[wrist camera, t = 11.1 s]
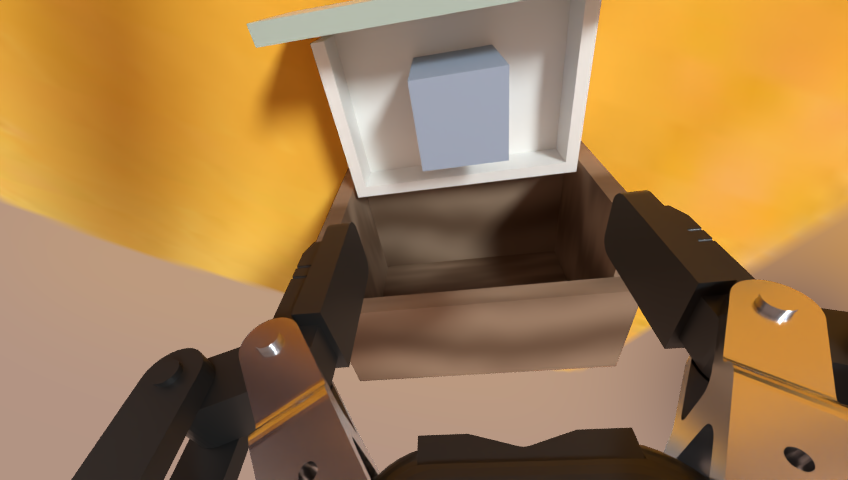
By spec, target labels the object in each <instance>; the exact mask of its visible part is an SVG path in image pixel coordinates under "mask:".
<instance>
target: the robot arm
mask: <svg viewBox="0 0 848 480" xmlns="http://www.w3.org/2000/svg"><path fill="white" fill-rule="evenodd" d="M604 245H605V250H606V253H607V256H608V257H609V259H610V261H611V262H612V264H613V266H614V267H615V269H616V270H617V272H618V274H619V275H620V277H621V279H622V280H623V282H624V283H625V285H626V287H627V288H628V290H629V292H630V293H631V295H632V296H633V298H634V300H635V301H636V303H637V305H638V306H639V308H640V309H641V311H642V313H643V314H644V316H645V318H646V319H647V321H648V323H649V324H650V326H651V327H652V329H653V331H654V332H655V334H656V335H657V337H658V339H659V340H660V342H661V344H662V345H663V347H664V348H665V349H668V348H669V349H670V348H685V349H686V350H687V351H688V353H689V354H690V356H689V358H688V360H687V362H686V365H685V370H684V375H683V381H682V386H681V391H680V396H679V401H678V407H677V412H676V417H675V422H674V427H673V430H672V433H671V436H670V438H669V440H668V443H667V445H666V448H665V450H664V453H663V452H661V451H658V450H655V449H652V448H650V447H647V446H643V445H639V443H638V441H637V438H636V436H635V434H634V432H633V429H632V428H611V429H587V430H586V429H585V430H575V431H572V432H569V433H566V434H563V435H560V436H557V437H554V438H551V439H548V440H546V441H543V442H540V443H537V444H534V445H531V446H527V447H519V446H515V445H511V444H507V443H503V442H499V441H495V440H491V439H487V438H482V437H478V436H474V435H470V434H455V435H454V434H453V435H427V436H418V451H415V452H412V453H409V454H408V455H406V456H404V457H402V458H400V459H398V460H396V461H395V462H394V463H392V464H391V465H389V466H388V467H387V468H385V470H383V471H382V472H381V473H380V472H379V471H378V469H377V467H376V465H375V463H374V461H373V459H372V457H371V456H370V454H369V452H368V450H367V448H366V446H365V445H364V443H363V441H362V439H361V437H360V435H359V433H358V431H357V429H356V427H355V425H354V423H353V421H352V419H351V417H350V415H349V413H348V411H347V409H346V407H345V405H344V403H343V401H342V399H341V397H340V395H339V393H338V391H337V389H336V387H335V385H334V383H333V382H332V379H333V375H334V371H335V368H341V367H349V365H350V360H351V355H352V351H353V346H354V341H355V337H356V332H357V327H358V323H359V318H360V313H361V309H362V304H363V299H364V295H365V290H366V285H367V281H368V274H369V268H368V261H367V257H366V254H365V251H364V248H363V245H362V242H361V240H360V237H359V234H358V231H357V228H356V226H355V224H354V223H353V222H349V223H340V224H331V225H328V227H327V229H326V231H325V233H324V236H323V238H322V241H320V242H314V243H313V244H312V245H311V246H310V247H309V248H308V249H307V250H306V251H305V252H304V253H303V255H302V257H301V259H300V261H299V264H298V266H297V267H298V268H297V269H296V270H295V272H294V274H293V279H291V281H290V283H289V285H288V287H287V290H286V292H285V294H284V296H283V298H282V301H281V303H280V305H279V307H278V309H277V311H276V313H275V315H274V318H273V319H271V320H268V321H266V322H264V323H262V324H260V325H259V326H257V327H256V328H255V329H253V330H252V331H251V332H250V333H249V334H248V335H247V336H246V338H245V339H244V341H243V342H242V344H241V346H240V347H239V348H236V349H233V350H230V351H228V352H225V353H222V354H219V355H216V356H213V357H211V358H208V359H207V358H206V357H205V356H204V355H203V354H202V353H201V352H200V351H198V350H196V349H193V348H186V349H181V350H177V351H175V352H172V353H170V354H169V355H167V356H165V357H163V358H162V359H160V360H159V361H158V362H156V363H155V364H154V365H153V366H152V367H151V368H150V369H149V370H148V371H147V372H146V373H145V374H144V375H143V377H142V378H141V379H140V381H139V382H138V384H137V385H136V387H135V388H134V389H133V391H132V392H131V394H130V395H129V397H128V398H127V400H126V401H125V403H124V404H123V405H122V407H121V408H120V410H119V411H118V413H117V414H116V416H115V417H114V419H113V420H112V422H111V423H110V424H109V426H108V427H107V429H106V430H105V432H104V433H103V435H102V436H101V437H100V439H99V440H98V442H97V443H96V445H95V447H94V448H93V449H92V451H91V452H90V453H89V455H88V456H87V458H86V459H85V461H84V462H83V464H82V465H81V467H80V468H79V469H78V471H77V472H76V474H75V476H74V477H73V478H72V480H164V478H165V476H166V474H167V472H168V470H169V468H170V466H171V464H172V462H173V460H174V458H175V456H176V454H177V452H178V450H179V448H180V446H181V444H182V442H183V440H184V438H185V436H187V437H188V438H190V439H189V442H188V443H187V445H186V447H185V450H184V452H183V454H182V456H181V458H180V460H179V462H178V464H177V466H176V468H175V470H174V472H173V474H172V476H171V478H170V480H237V479H238V476H239V473H240V471H241V468H242V465H243V462H244V460H245V457H246V454H247V451H248V448H249V451H250V456H251V460H252V465H253V469H254V474H255V478H256V480H848V312H844V311H837V310H830V309H823V308H820V307H819V306H818V305H817V304H816V303H815V302H814V301H813V300H812V299H810V298H809V297H807V296H806V295H804V294H802V293H801V292H799V291H797V290H795V289H793V288H790V287H788V286H785V285H782V284H779V283H775V282H771V281H765V280H756V279H754V278H753V277H752V276H751V275H750V274H749V273H748V272H747V271H746V270H745V269H744V268H743V267H742V266H741V265H740V264H739V263H738V262H737V261H736V260H735V259H734V258H733V257H731V256H730V255H729V254H728V253H727V252H726V251H725V250H724V249H723V248H722V247H721V246H720V245H719V244H718V243H717V242H716V241H712V237H710V236H709V235H708V234H707V233H706V232H705V231H704V230H701V227H700V226H699V225H698V224H697V223H696V222H695V221H694V220H693V219H692V218H691V217H690V216H688V215H687V214H685V213H683V212H681V211H679V210H677V209H675V208H673V207H671V206H664V205H663V204H662V203H661V202H660V201H659V200H658V199H657V198H656V197H655V196H654V195H653V194H652V193H651V192H650V191H647V190H644V191H635V192H626V193H618V194H616V195H615V197H614V199H613V202H612V207H611V211H610V215H609V219H608V223H607V228H606V232H605V236H604Z"/></svg>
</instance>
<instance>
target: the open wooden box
mask: <svg viewBox="0 0 848 480" xmlns="http://www.w3.org/2000/svg"><path fill="white" fill-rule="evenodd" d="M618 193H626V191H625V190H624V188H623V187H622V186H621V185H620V184H619V183H618V182H617V181H616V180H615V178H614V177H613V176H612V175H611V174H610V173H609V172H608V171H607V169H606V168H605V167H604V166H603V165H602V164H601V163H600V162H599V160H598V159H597V158H596V157H595V156H594V155H593V154H592V153H591V151H590V150H589V149H588V148H587V147H586V146H585V145H584V144H583V142H582V141H581V143H580V150H579V157H578V164H577V170H576V172H569V173H560V174H552V175H544V176H535V177H527V178H518V179H510V180H502V181H493V182H485V183H477V184H468V185H460V186H452V187H443V188H435V189H427V190H418V191H410V192H402V193H393V194H385V195H377V196H368V197H360V198H358V195H357V191H356V188H355V185H354V182H353V179H352V176H351V172H350V169H349V168H348V170H347V173H346V175H345V177H344V179H343V182H342V184H341V186H340V188H339V191H338V193H337V195H336V198H335V200H334V202H333V204H332V207H331V209H330V211H329V214H328V216H327V218H326V220H325V223H324V225H323V227H322V230H321V232H320V234H319V236H318V239H317V241H316V242H320V241H322V238H323V236H324V233H325V231H326V229H327V227H328V225H331V224H340V223H349V222H353V223H354V224H355V226H356V228H357V231H358V234H359V237H360V240H361V242H362V245H363V248H364V251H365V254H366V257H367V261H368V268H369V274H368V281H367V285H366V290H365V295H364V299H363V304H362V309H361V313H360V318H359V323H358V327H357V332H356V337H355V341H354V346H353V351H352V355H351V360H350V362H351V364H352V366H353V368H354V370H355V372H356V374H357V375H358V378H359V380H360V381H370V380H387V379H404V378H420V377H439V376H455V375H471V374H490V373H506V372H525V371H542V370H559V369H576V368H592V367H610V366H616V364H617V362H618V359H619V357H620V354H621V351H622V348H623V346H624V343H625V341H626V338H627V335H628V333H629V330H630V327H631V325H632V322H633V319H634V317H635V314H636V311H637V309H638V305H637V303H636V301H635V300H634V298H633V296H632V295H631V293H630V292H629V290H628V288H627V287H626V285H625V283H624V282H623V280H622V279H621V277H620V275H619V274H618V272H617V270H616V269H615V267H614V266H613V264H612V262H611V261H610V259H609V257H608V256H607V253H606V250H605V245H604V236H605V232H606V228H607V223H608V219H609V215H610V211H611V207H612V202H613V199H614V197H615V195H616V194H618Z"/></svg>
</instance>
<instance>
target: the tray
mask: <svg viewBox="0 0 848 480" xmlns="http://www.w3.org/2000/svg"><path fill="white" fill-rule="evenodd" d="M600 7H601V0H353V1H348V2H342V3H337V4H332V5H326V6H321V7H315V8H310V9H305V10H299V11H294V12H290V13H286V14H282V15H278V16H274V17H271V18H267V19H263V20H259V21H255V22H252V23H248V24H247V27H248V29H249V32H250V34H251V36H252V39H253V41H254V44H255V46H256V48H257V47H263V46H269V45H274V44H280V43H286V42H291V41H297V40H303V39H308V38H314V37H320V36H321V38H319V39H318V40H316V41H314V42H312V43H310V45H311V48H312V51H313V54H314V58H315V61H316V64H317V67H318V70H319V73H320V77H321V80H322V83H323V86H324V89H325V93H326V96H327V99H328V102H329V105H330V109H331V112H332V115H333V118H334V121H335V124H336V128H337V131H338V134H339V137H340V140H341V144H342V147H343V150H344V153H345V156H346V160H347V163H348V166H349V169H350V172H351V176H352V179H353V182H354V185H355V188H356V191H357V195H358V198H360V197H368V196H377V195H385V194H393V193H402V192H410V191H418V190H427V189H435V188H443V187H452V186H460V185H468V184H477V183H485V182H493V181H502V180H510V179H518V178H527V177H535V176H544V175H552V174H560V173H569V172H576V170H577V164H578V157H579V150H580V143H581V136H582V129H583V123H584V116H585V109H586V102H587V95H588V89H589V82H590V75H591V68H592V61H593V54H594V48H595V41H596V34H597V27H598V20H599V14H600ZM486 45H493V46H494V47H495V48H496V50H497V51H498V52H499V53H500V54H501V56H502V57H503V58H504V59H505V60H506V61H507V63H508V64H509V160H508V161H501V162H493V163H485V164H477V165H469V166H462V167H454V168H446V169H438V170H431V171H423V170H422V164H421V158H420V152H419V146H418V140H417V134H416V128H415V122H414V117H413V111H412V105H411V99H410V93H409V87H408V77H409V73H410V69H411V65H412V60H413V58H415V57H421V56H427V55H433V54H439V53H445V52H450V51H456V50H462V49H468V48H474V47H480V46H486Z"/></svg>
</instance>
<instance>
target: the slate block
mask: <svg viewBox="0 0 848 480" xmlns="http://www.w3.org/2000/svg"><path fill="white" fill-rule="evenodd" d="M408 87H409V93H410V99H411V105H412V111H413V117H414V122H415V128H416V134H417V140H418V146H419V152H420V158H421V164H422V170H423V171H431V170H438V169H446V168H454V167H462V166H469V165H477V164H485V163H493V162H501V161H508V160H509V64H508V63H507V61H506V60H505V59H504V58H503V57H502V56H501V54H500V53H499V52H498V51H497V50H496V48H495V47H494V46H493V45H486V46H480V47H474V48H468V49H462V50H456V51H450V52H445V53H439V54H433V55H427V56H421V57H415V58H413V60H412V65H411V69H410V73H409V77H408Z"/></svg>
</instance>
